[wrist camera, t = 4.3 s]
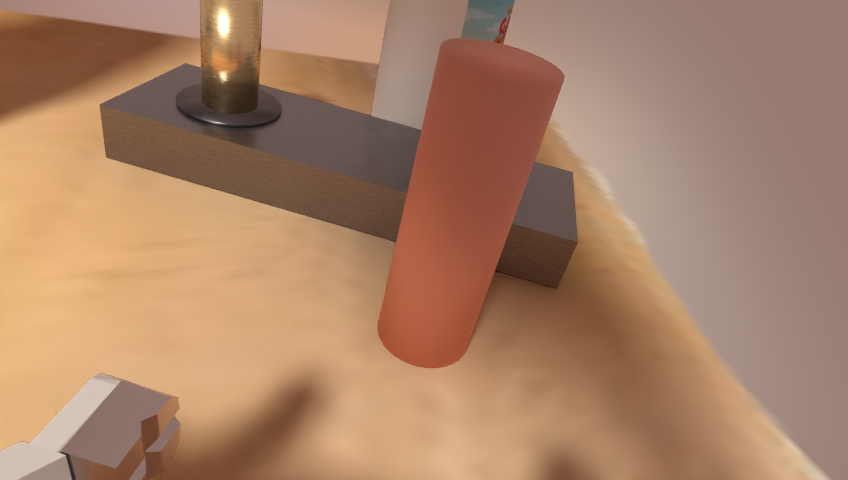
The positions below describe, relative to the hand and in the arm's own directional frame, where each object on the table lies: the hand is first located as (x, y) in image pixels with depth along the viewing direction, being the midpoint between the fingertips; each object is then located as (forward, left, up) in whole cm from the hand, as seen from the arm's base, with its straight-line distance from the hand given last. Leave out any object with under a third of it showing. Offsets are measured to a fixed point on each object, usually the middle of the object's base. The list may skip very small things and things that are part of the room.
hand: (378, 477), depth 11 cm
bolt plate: (-6, +22, -7) cm, 24 cm away
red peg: (0, +12, -7) cm, 14 cm away
